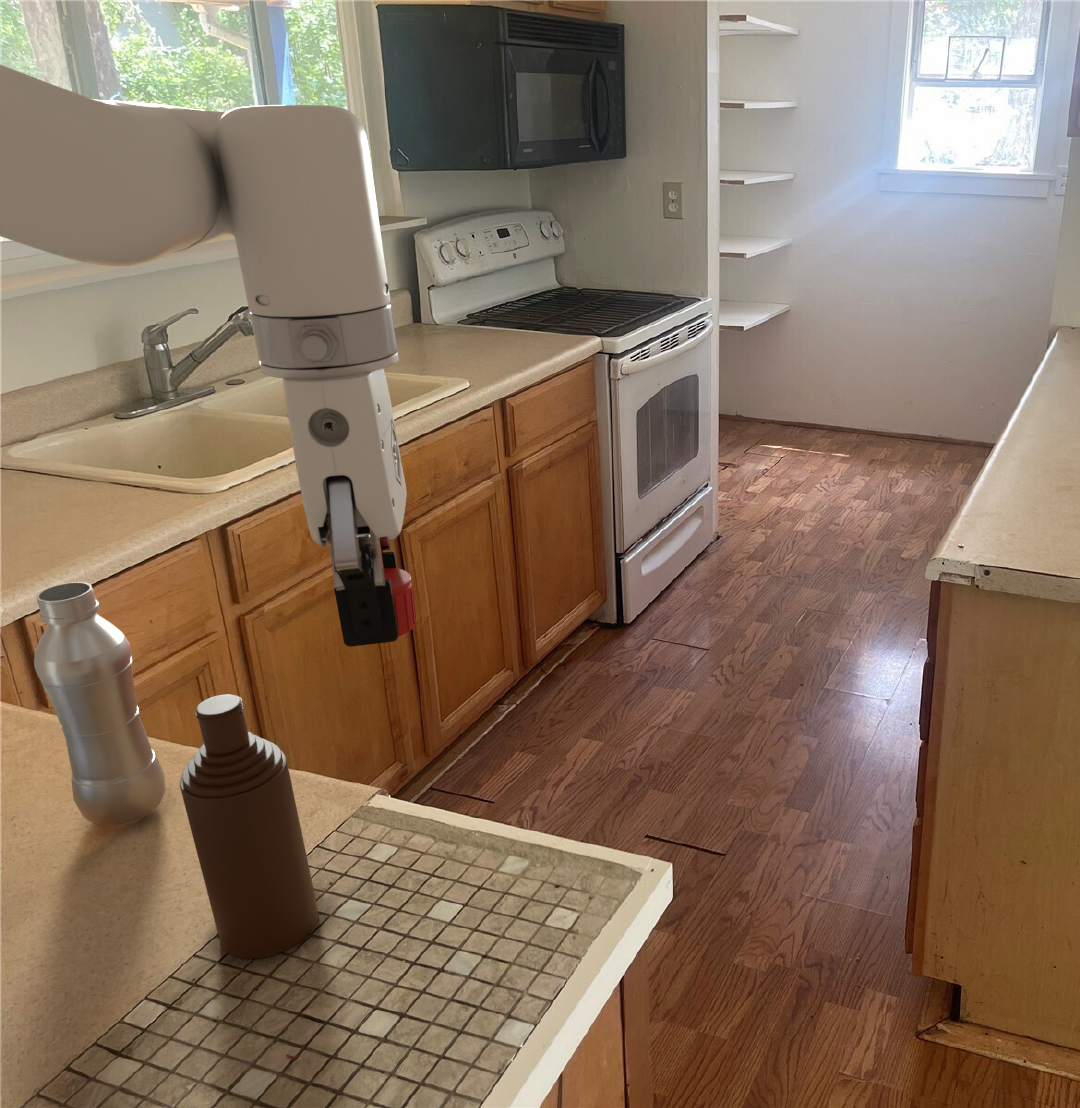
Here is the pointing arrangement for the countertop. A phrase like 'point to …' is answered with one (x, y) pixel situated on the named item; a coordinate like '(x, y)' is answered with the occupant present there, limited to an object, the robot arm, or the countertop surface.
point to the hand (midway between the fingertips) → (374, 623)
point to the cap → (402, 598)
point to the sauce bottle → (247, 835)
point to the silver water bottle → (96, 708)
